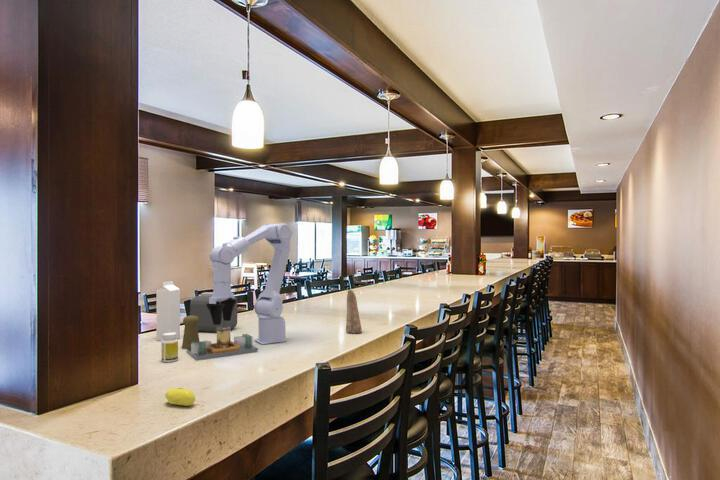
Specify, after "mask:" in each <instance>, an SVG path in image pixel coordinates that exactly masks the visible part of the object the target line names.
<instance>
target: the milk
mask: <svg viewBox="0 0 720 480" xmlns="http://www.w3.org/2000/svg"><path fill="white" fill-rule="evenodd" d="M155 296H156V299H155V300H156V304H155V305H156V309H155V310H156V318H155V319H156V341H157V340H158V342H162V340H164V339H163V334H165V333H176V334H177V338H176V339H177V340H178V339H180V338H181V313H180V312H181V289H180V287H178V286H176V285H174V281H173V280H170V281H163V282H162V286H161V287H159V288H158V289H156V295H155Z"/></svg>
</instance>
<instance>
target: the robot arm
mask: <svg viewBox="0 0 720 480" xmlns="http://www.w3.org/2000/svg"><path fill="white" fill-rule="evenodd" d="M292 234H293V232H292V229H291V227H290V225H288V224H287V223H285V222H282V223H266V224H264V225H261V226H260V227H258V228H257V229H255V230H254V231H252V232H251V233H249V234H248V235H246V236H244V237H243V236H238V235H235V236H233V239H231V240H229V241H225V242H223V243H222V245H221V246H215V247H213V248H212V250H211V252H210V254H209V255H208V256H209V259H210V261H211V264H212V265H211V266H212V269H213V270H212V288H213V291H212V292H213V296H212V297H210V298H209V303H207V308H208V309H209V311H210V313H211V317H212V320H213V324H214V325H220V323H221V317H222V311H223V319H224V321H230V320H231V316H232V311H233V308H234V306H235V304H236V302H237V303H238V298H237V299H232V298H234V296H235V292H232V278H231V277H232V267H231V266H232V265H231V264H232V262H233V261H234V260H235V258H237V257H238V256H240V255H242V254H243V253H245V252H247V251H248V250H249V249H250V248H249V247H250V246H251V245H253V244H255V243H258V242H259V241H261V240H263V239H265V240H266V241H267V242H268V243H269V245H270V246H272V247H273V249H274V252H273V257H272V260H271V264H270V268H269V272H268V276H267V280H266V285H265V287H264V290H263V291H261V292H260V294H258V298H257V300H256V301H255V303H254V306H253V310H254V312H255V314H256V315H257V316H256V317H257V318H258V338H254V341H255V342H257V343H259V344H261V345H268V344H269V345H270V344H275V343H276V344H277V343H283V342H287V339H286V320H285V317H284V316H281V314H282V313H283V307H284V306H283V301H284V298H283V296H282V295H281V294H280V292H281V287H282V284H283V280H284V275H285V271H286V268H287V264H288V261H289V260H288V259H289V256H290V252H291V239H292ZM219 302H220V303H221V304H220V303H219Z"/></svg>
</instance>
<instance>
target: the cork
mask: <svg viewBox="0 0 720 480" xmlns="http://www.w3.org/2000/svg"><path fill="white" fill-rule="evenodd" d="M182 320H183V321H182V323H183V325H184V330H183V338H182V344H181V349H183V350H187V348H191V344H192V342H193V341H200V335H199V331H198V327H197V324H198V322H199V318H198V317H197V316H192V315H191V316H190V315H187V316H184V318H183V319H182Z"/></svg>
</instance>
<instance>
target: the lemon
mask: <svg viewBox="0 0 720 480" xmlns="http://www.w3.org/2000/svg"><path fill="white" fill-rule="evenodd" d="M164 396H165V399H166V400H167V401H168V402H167V403H169V404H170V405H178V406H184V407H190V406H192V405H193V404H194V403H195V401H196V395H195V393H194V392H193V390H192V391H191V389H188V388H184V387H176V388H170V389H168V390H167V391H166V392H165V394H164Z"/></svg>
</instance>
